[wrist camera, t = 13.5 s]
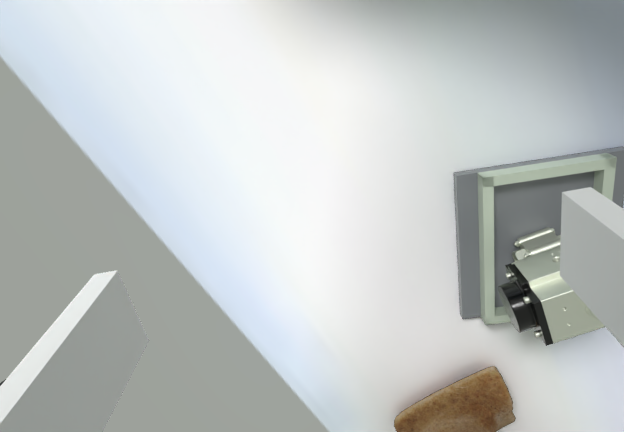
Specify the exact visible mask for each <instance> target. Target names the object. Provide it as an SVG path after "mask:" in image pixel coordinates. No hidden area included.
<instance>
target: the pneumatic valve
mask: <svg viewBox="0 0 624 432" xmlns="http://www.w3.org/2000/svg"><path fill="white" fill-rule="evenodd" d="M514 245H515V246H516V247H518V246H520V249H519V250H517V251H514V252H512V256H513V259H514V262H513V263H510V264H508V265H505V268H506V271H507V273H506V277H507V278H508V279H509V280H510V282H508V283H505V284H502V285H499V286H498V291H499V295H500V298H501V300H502V303H503V305H504V308H505V310H506V312H507V314H508V316H509V318H510V320H511V322H512V324H513V325H514V327H515V328H516V330H517V331H518V332H520V333H521V332H524V331H527V330H530V329H533V328H534V329H535V330H536V331H534V335H535V336H536V338H538V337H541V339H542V340H543V342H544V343H545V345H546V346H547V345H550V344H553V343H556V342H559V341H562V340H566V339H569V338H572V337H575V336H578V335H581V334H584V333H587V332H591V331H594V330H597V329H600V328H603V327H605V326H604V325H603V323H602V322H601V321H600V320H599V319H598V318H597V317H596V316H595V314H594V313H593V312H592V311H591V310H590V309H589V308H588V307H587V305H586V304H585V303H584V302H583V301H582V300H581V299H580V298H579V296H578V295H577V294H576V293H575V292H574V291H573V290H572V289H571V288H570V286H569V285H568V284H567V283H566V282H565V281H564V280H563V279H562V277H561V276H560V246H561V235H558V236H557V235H556V234H555V230H554V229H553V228H549V227H547V228H544V229H542V230H539V231H536V232H533V233H531V234H528V235H525V236H523V237H520V238H517V241H515V243H514Z"/></svg>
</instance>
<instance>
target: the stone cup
mask: <svg viewBox="0 0 624 432" xmlns="http://www.w3.org/2000/svg"><path fill="white" fill-rule="evenodd" d="M512 404H513V401H512V398H511V396H510V394H509V391H508V388H507V386H506V384H505V382H504V380H503V378H502V376H501V374H500V373H499V372H498V370H497V368H496V367H495V366H492V367H489V368H486V369H484V370H481V371H479V372H477V373H474V374H472V375H470V376H468V377H466V378H464V379H461V380H459V381H457V382H455V383H453V384H451V385H449V386H447V387H445V388H443V389H441V390H439V391H437V392H435V393H433V394H431V395H429V396H428V397H426V398H424V399H422V400H421V401H419V402H417V403H415V404H413V405H412V406H410V407H408V408H407V409H405V410H404V411H402V412H401V413H400V414H399V415H398V416H396V418H395V420H394V427H395V429H396V431H397V432H496V431H498V430H499V429H501V428H502V427H504V426H506V425H508V424H510V423H512V422H514V421H515V416H514V414H513V412H512V410H513V406H512Z"/></svg>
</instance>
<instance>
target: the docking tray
mask: <svg viewBox="0 0 624 432" xmlns="http://www.w3.org/2000/svg"><path fill="white" fill-rule="evenodd" d="M588 187H591V188H593V189H594V190H596V191H597V192H599V193H600V194H602V195H603V196H605V197H606V198H608V199H609V200H611V201H612V202H614V203H615V204H617V205H618V206H620V207H621V208H623V200H624V147H616V148H610V149H603V150H597V151H590V152H584V153H578V154H571V155H565V156H558V157H552V158H545V159H539V160H532V161H526V162H519V163H513V164H506V165H500V166H493V167H487V168H481V169H474V170H468V171H461V172H455V173H454V193H455V215H456V237H457V258H458V280H459V302H460V315H461V317H462V319H467V318H475V317H481V318H482V320H483V322H484V323H485V325H491V324H499V323H507V322H511V320H510V318H509V316H508V314H507V312H506V310H505V308H504V305H503V303H502V300H501V298H500V295H499V291H498V286H499V285H502V284H505V283H508V282H510V280H509V279H508V278H507V277H506V273H507V271H506V268H505V265H508V264H510V263H513V262H514V259H513V256H512V252H514V251H517V250H519V249H520V246H518V247H516V246H515V245H514V243H515V241H517V238H520V237H523V236H525V235H528V234H531V233H533V232H536V231H539V230H542V229H544V228H547V227H549V228H553V229H554V230H555V234H556V235H557V236H558V235H561V208H562V192H565V191H571V190H577V189H582V188H588Z"/></svg>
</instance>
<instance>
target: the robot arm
mask: <svg viewBox="0 0 624 432" xmlns="http://www.w3.org/2000/svg"><path fill="white" fill-rule="evenodd" d="M560 276H561V277H562V279H563V280H564V281H565V282H566V283H567V284H568V285H569V286H570V288H571V289H572V290H573V291H574V292H575V293H576V294H577V295H578V296H579V298H580V299H581V300H582V301H583V302H584V303H585V304H586V305H587V307H588V308H589V309H590V310H591V311H592V312H593V313H594V314H595V316H596V317H597V318H598V319H599V320H600V321H601V322H602V323H603V325H604V326H605V327H606V328H607V329H608V330H609V331H610V332H611V334H612V335H613V336H614V337H615V338H616V339H617V340H618V341H619V343H620V344H621V345H622V346H623V347H624V209H623V208H621V207H620V206H618V205H617V204H615V203H614V202H612V201H611V200H609V199H608V198H606V197H605V196H603V195H602V194H600V193H599V192H597V191H596V190H594V189H593V188H591V187H588V188H582V189H577V190H571V191H565V192H562V208H561V246H560ZM148 342H149V339H148V336H147V334H146V332H145V330H144V328H143V325H142V323H141V321H140V319H139V317H138V314H137V312H136V310H135V308H134V306H133V303H132V301H131V299H130V297H129V294H128V292H127V290H126V288H125V286H124V283H123V281H122V279H121V277H120V274H119V272H118V271H111V272H105V273H100V274H95V275H93V277H92V278H91V279H90V280H89V282H88V283H87V284H86V285H85V286H84V287H83V289H82V290H81V291H80V292H79V293H78V295H77V296H76V297H75V298H74V299H73V300H72V302H71V303H70V304H69V305H68V307H67V308H66V309H65V310H64V311H63V312H62V314H61V315H60V316H59V317H58V319H57V320H56V321H55V322H54V323H53V324H52V325H51V327H50V328H49V329H48V330H47V331H46V333H45V334H44V335H43V336H42V337H41V338H40V340H39V341H38V342H37V344H35V346H34V347H33V348H32V349H31V351H30V352H29V353H28V354H27V355H26V356H25V358H24V359H23V360H22V361H21V363H20V364H19V365H18V366H17V367H16V369H14V371H13V372H12V373H11V374H10V376H9V377H8V378H7V379H5V380H4V381H3V382H1V383H0V432H103V430H104V428H105V426H106V424H107V422H108V420H109V418H110V416H111V414H112V412H113V410H114V408H115V406H116V404H117V403H118V401H119V399H120V397H121V395H122V393H123V391H124V389H125V387H126V385H127V383H128V381H129V379H130V377H131V375H132V373H133V371H134V369H135V367H136V365H137V363H138V361H139V359H140V357H141V355H142V354H143V352H144V350H145V348H146V346H147V343H148Z"/></svg>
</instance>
